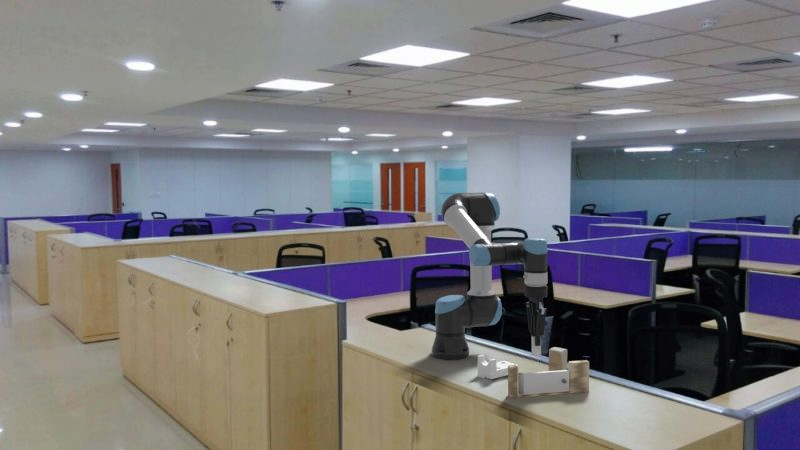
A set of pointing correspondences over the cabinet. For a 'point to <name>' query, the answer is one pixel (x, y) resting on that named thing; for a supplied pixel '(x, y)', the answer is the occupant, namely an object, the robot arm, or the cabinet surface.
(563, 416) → the cabinet surface
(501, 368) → the bracket
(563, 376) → the door
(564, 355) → the box
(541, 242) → the robot arm
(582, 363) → the door frame
